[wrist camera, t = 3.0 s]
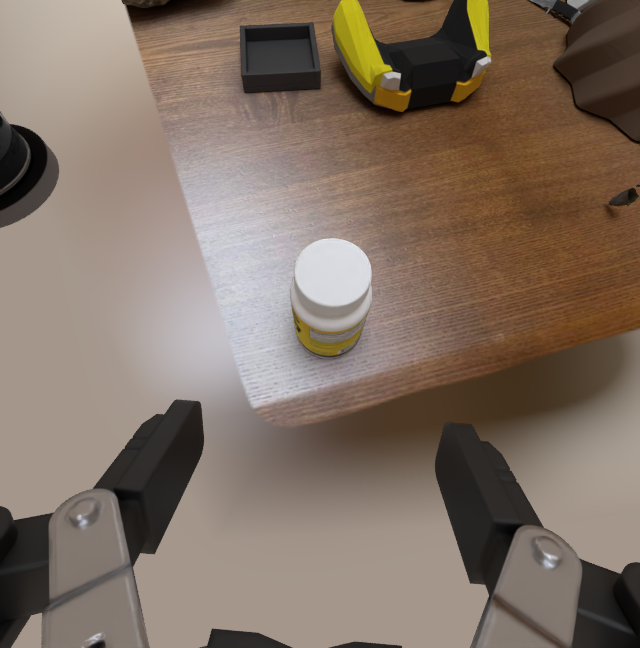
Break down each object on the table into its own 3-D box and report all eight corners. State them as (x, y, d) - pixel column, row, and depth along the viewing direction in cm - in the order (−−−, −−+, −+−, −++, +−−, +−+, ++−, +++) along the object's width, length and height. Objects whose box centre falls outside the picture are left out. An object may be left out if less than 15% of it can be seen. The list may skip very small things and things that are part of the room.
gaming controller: (326, 57, 37) (353, 125, 33) (328, -9, 32) (360, 64, 28) (462, 36, 38) (501, 100, 35) (484, -30, 33) (533, 37, 30)
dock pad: (244, 93, 35) (241, 75, 33) (242, 44, 38) (239, 25, 36) (320, 88, 35) (320, 71, 34) (313, 40, 38) (313, 22, 36)
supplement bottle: (299, 296, 27) (292, 226, 19) (362, 301, 27) (381, 233, 19) (291, 357, 25) (280, 308, 17) (358, 363, 25) (378, 317, 17)
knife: (505, -14, 42) (504, -16, 42) (518, -31, 41) (518, -33, 41) (571, 33, 39) (571, 31, 39) (587, 16, 38) (587, 14, 38)
